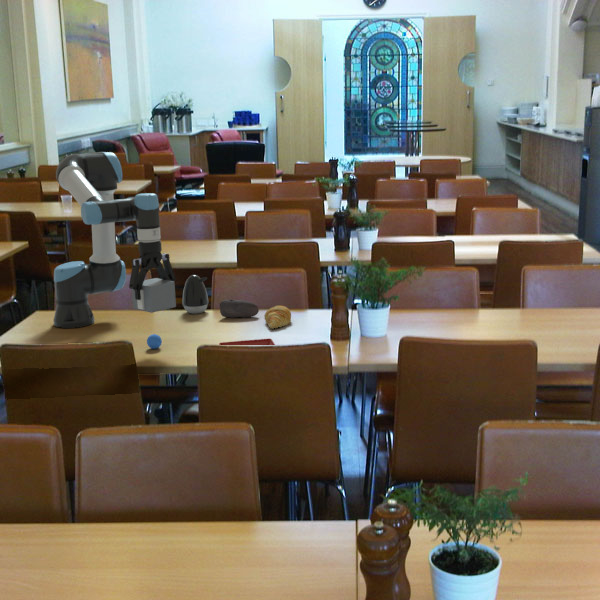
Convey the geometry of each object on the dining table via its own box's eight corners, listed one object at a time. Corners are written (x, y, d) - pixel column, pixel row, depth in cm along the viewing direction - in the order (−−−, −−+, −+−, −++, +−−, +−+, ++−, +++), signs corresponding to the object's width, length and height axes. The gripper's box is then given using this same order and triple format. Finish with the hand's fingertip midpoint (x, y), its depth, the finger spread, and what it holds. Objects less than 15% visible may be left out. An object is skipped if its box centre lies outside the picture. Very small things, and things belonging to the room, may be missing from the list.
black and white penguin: (204, 315, 340) (202, 277, 337) (179, 315, 342) (177, 277, 339) (212, 309, 350) (210, 272, 346) (188, 308, 352) (185, 272, 348)
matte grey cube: (133, 308, 293) (131, 283, 291) (157, 302, 300) (155, 277, 298) (151, 312, 286) (149, 286, 284) (176, 306, 293) (174, 281, 291)
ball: (154, 343, 293) (149, 353, 296) (166, 340, 297) (161, 349, 300) (146, 333, 295) (142, 342, 298) (158, 329, 299) (153, 339, 301)
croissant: (280, 340, 316) (289, 321, 314) (255, 327, 317) (265, 308, 314) (291, 323, 336) (299, 306, 334) (267, 311, 337) (276, 294, 334)
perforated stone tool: (260, 315, 338) (259, 298, 336) (257, 319, 333) (257, 301, 331) (222, 315, 340) (221, 298, 338) (219, 319, 335) (218, 301, 333)
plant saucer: (281, 362, 279) (281, 352, 279) (225, 367, 276) (225, 357, 275) (271, 347, 297) (271, 338, 296) (218, 352, 293) (218, 342, 292)
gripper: (127, 246, 277) (133, 313, 282) (183, 236, 294) (187, 300, 298) (114, 244, 283) (119, 310, 288) (169, 235, 299) (174, 298, 304)
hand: (154, 305), depth 293 cm, fingers closed on matte grey cube, 10 cm apart
